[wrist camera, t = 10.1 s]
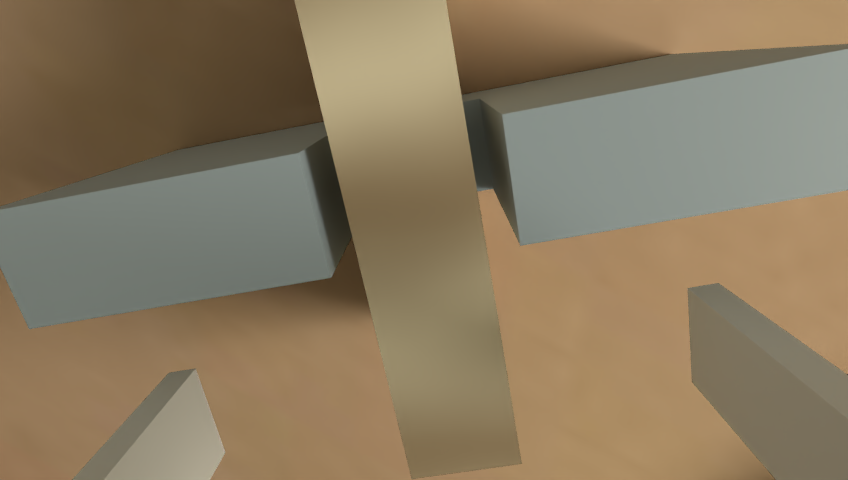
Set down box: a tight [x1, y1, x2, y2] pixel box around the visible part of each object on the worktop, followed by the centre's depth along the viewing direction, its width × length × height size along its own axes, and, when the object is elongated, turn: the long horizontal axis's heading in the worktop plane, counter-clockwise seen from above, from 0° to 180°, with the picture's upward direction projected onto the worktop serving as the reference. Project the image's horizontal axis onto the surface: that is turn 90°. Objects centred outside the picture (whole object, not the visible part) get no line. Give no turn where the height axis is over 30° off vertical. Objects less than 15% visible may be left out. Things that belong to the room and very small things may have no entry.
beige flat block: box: [294, 0, 522, 479], centre depth 17 cm, size 15×3×10 cm, turn 11°
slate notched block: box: [0, 44, 848, 329], centre depth 17 cm, size 20×3×10 cm, turn 101°
